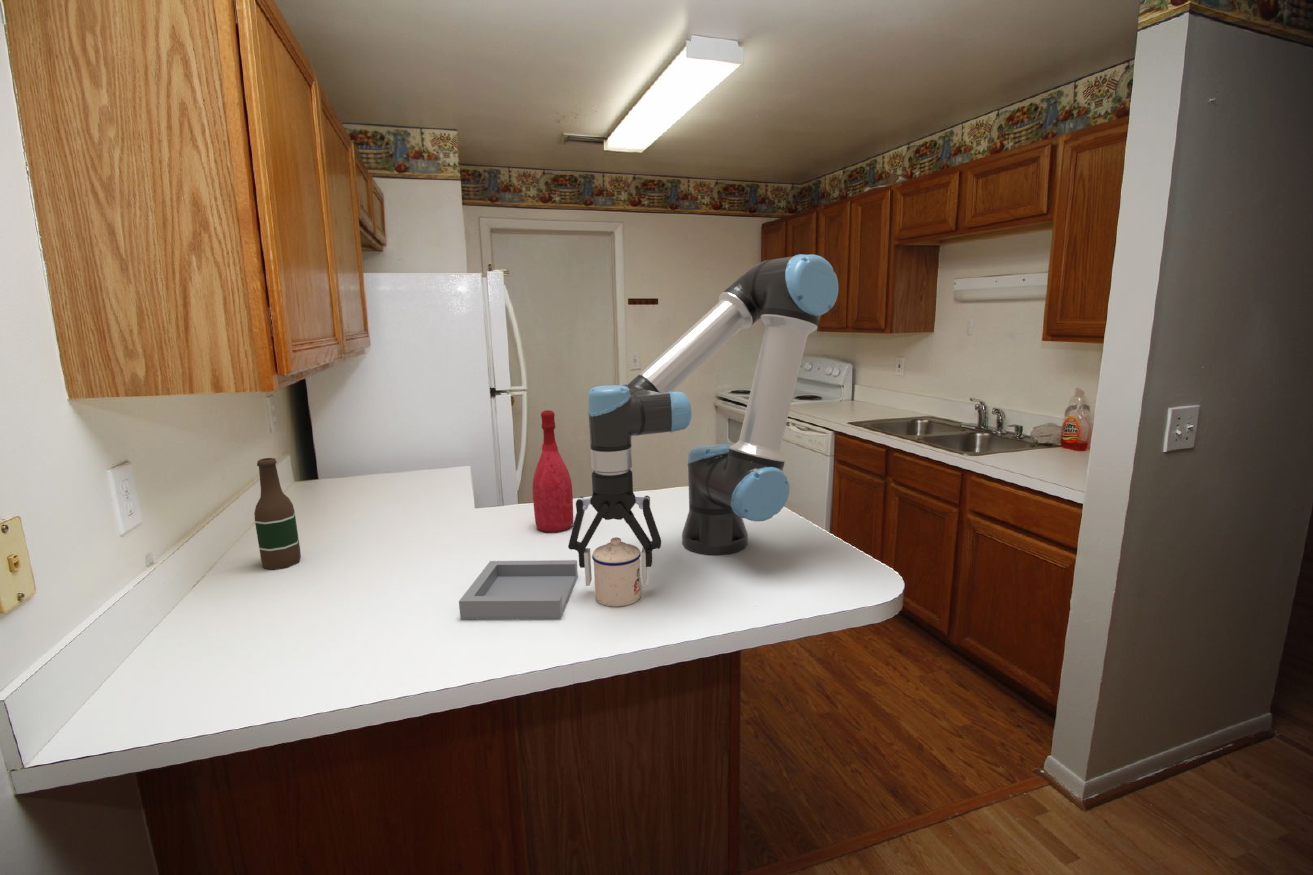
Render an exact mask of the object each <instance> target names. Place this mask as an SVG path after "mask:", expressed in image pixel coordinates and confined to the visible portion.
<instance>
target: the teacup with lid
mask: <svg viewBox="0 0 1313 875" xmlns="http://www.w3.org/2000/svg"><path fill="white" fill-rule="evenodd" d="M591 555H592V556H591V558H592V559H591V560H593V575H594V592H595V593H594V594H595V600H596V601H597V602H598V603H600V605H604V606H606V607H617V608H618V607H625V606H626V607H627V606H629V605H632V604H634V603H636V602H637V601H638V600H639V599H640V598H641V596H642V589H641V585H642V584H641V583H642V582H641V564H640V563H641V560H640V559H641V550H640V549H639V547H638V546H636V545H634V544H631V543H626V542H623V541H622V539H621V537H617V536H616V537H612V538H610V542H608V543H606V544H603V545H600V546H598V547H597V548H596V549H594V551H593V552H592V554H591Z"/></svg>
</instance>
